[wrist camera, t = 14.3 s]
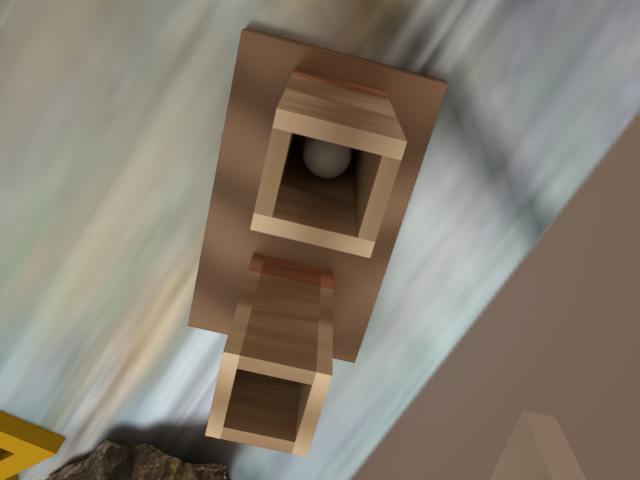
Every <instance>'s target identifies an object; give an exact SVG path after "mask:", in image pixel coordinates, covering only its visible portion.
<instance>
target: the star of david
mask: <svg viewBox="0 0 640 480" xmlns="http://www.w3.org/2000/svg"><path fill="white" fill-rule="evenodd" d="M64 440H65V437H63V436H60V435H58V434H55V433H53V432H50V431H48V430H46V429H43V428H41V427H38V426H36V425H33V424H31V423H28V422H26V421H23V420H21V419H19V418H16V417H14V416H11V415H9V414H6V413H4V412H1V411H0V480H18V478H17V475H16V474H17V473H19V472H21V471H23V470H25V469H27V468H29V467H31V466H33V465H35V464H37V463H39V462H41V461H43V460H45V459H47V458H49V457H51V456H53V455H55V454H56V453H57V452H58V450H59V448H60V447H61V445H62V443H63V441H64Z"/></svg>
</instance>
